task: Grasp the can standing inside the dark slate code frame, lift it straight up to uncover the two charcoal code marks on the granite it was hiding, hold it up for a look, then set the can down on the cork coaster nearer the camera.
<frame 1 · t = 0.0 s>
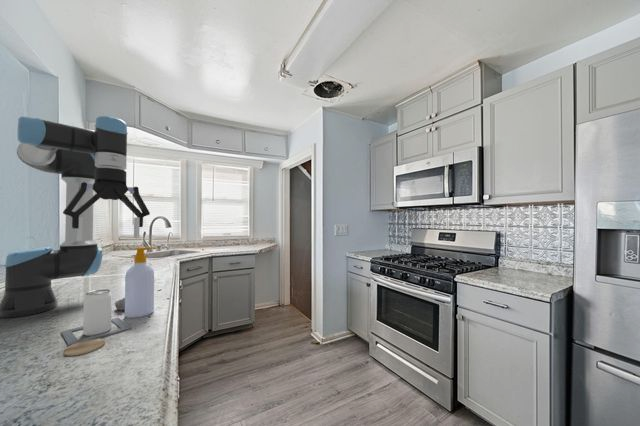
hand: (109, 239, 78), 28 cm above the countertop, fingers open, 13 cm apart
can: (97, 332, 78), resting in code frame
code frame: (96, 330, 79), on the countertop
soap bottle: (140, 314, 93), on the countertop
stone: (131, 309, 99), on the countertop
coaster: (85, 347, 68), on the countertop
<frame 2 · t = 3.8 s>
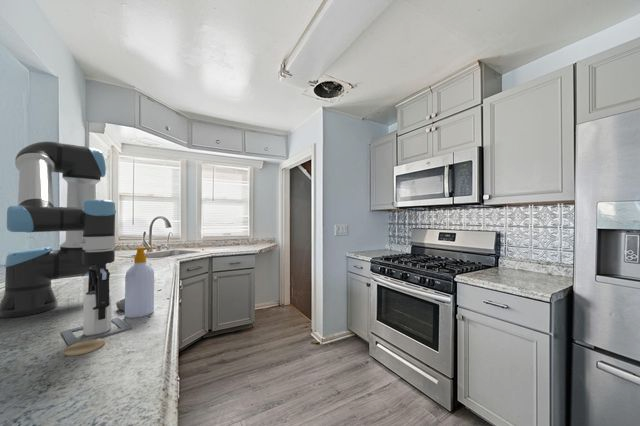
hand: (97, 326, 78), 1 cm above the countertop, fingers closed on can, 6 cm apart
can: (97, 332, 78), resting in code frame, touching gripper
everything else where it was.
when the fingers open (3 cm above the countertop, at t = 9.4 s): can stays where it is, resting on coaster.
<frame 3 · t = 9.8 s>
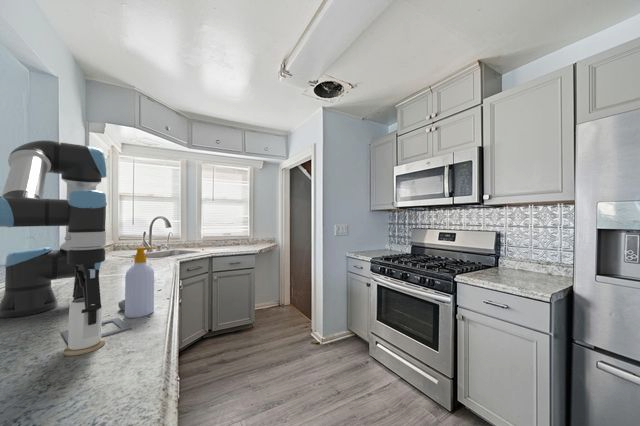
hand: (85, 330, 68), 5 cm above the countertop, fingers open, 12 cm apart
can: (85, 345, 68), resting on coaster
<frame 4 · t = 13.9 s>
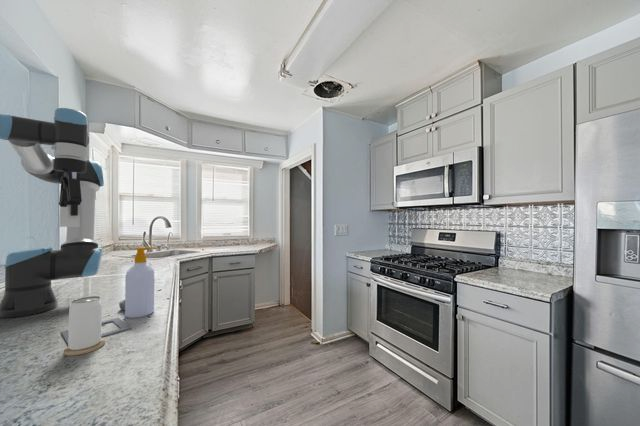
hand: (69, 227, 81), 32 cm above the countertop, fingers open, 13 cm apart
at the end: can 0.3 cm from the coaster (horizontally); can tilted 0°; the gripper is holding nothing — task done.
